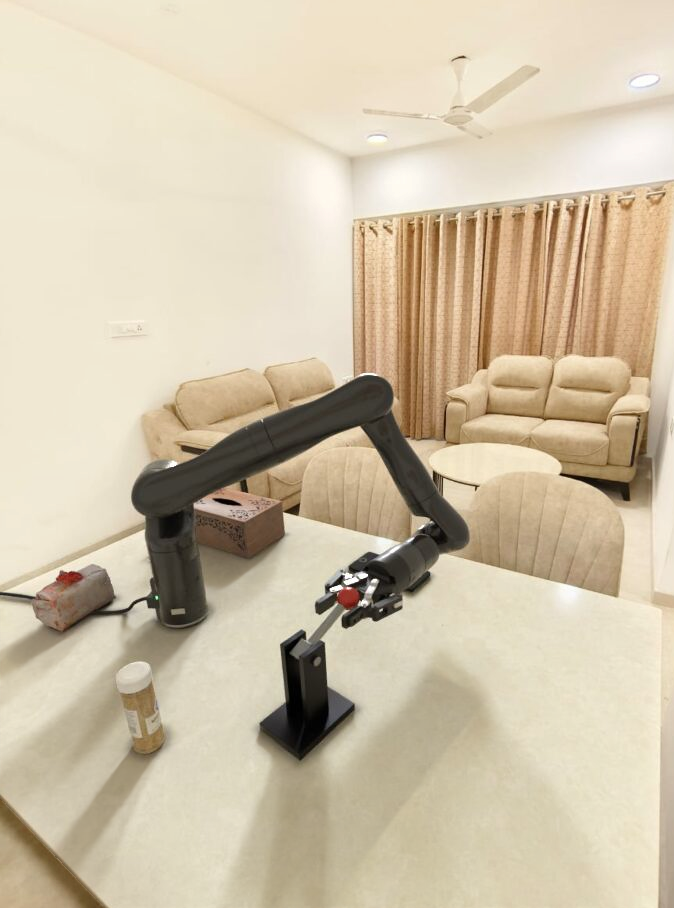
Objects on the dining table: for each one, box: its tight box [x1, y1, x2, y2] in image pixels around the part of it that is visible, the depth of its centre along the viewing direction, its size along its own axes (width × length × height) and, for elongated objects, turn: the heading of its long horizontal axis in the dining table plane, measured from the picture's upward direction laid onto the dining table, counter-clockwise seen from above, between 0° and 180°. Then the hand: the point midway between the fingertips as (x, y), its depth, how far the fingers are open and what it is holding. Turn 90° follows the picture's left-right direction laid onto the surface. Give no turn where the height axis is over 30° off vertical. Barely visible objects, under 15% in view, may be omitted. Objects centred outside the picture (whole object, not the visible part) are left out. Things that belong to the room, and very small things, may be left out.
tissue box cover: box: [194, 487, 286, 559], centre depth 136 cm, size 26×14×10 cm, turn 61°
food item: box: [29, 563, 117, 632], centre depth 103 cm, size 14×8×10 cm, turn 154°
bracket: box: [258, 629, 356, 762], centre depth 76 cm, size 12×9×15 cm
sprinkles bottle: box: [115, 661, 166, 755], centre depth 73 cm, size 5×5×14 cm
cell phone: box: [347, 551, 431, 593], centre depth 118 cm, size 9×18×1 cm, turn 55°
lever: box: [290, 587, 361, 664], centre depth 77 cm, size 14×4×4 cm, turn 141°
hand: (330, 616), depth 77 cm, fingers open, 5 cm apart
